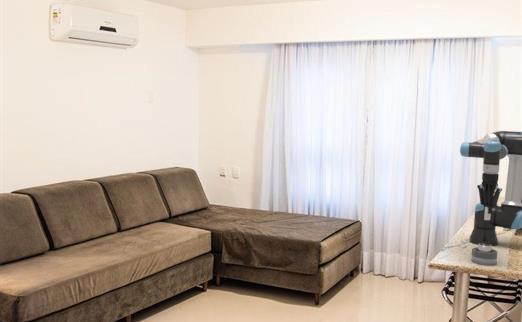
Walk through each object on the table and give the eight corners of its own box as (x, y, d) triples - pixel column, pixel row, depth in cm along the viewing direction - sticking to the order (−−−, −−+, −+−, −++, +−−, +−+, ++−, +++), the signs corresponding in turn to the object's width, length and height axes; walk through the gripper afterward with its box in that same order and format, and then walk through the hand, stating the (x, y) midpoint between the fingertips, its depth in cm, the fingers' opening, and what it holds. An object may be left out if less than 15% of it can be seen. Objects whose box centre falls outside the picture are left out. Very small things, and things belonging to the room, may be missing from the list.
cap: (483, 254, 296) (484, 241, 295) (493, 257, 291) (494, 244, 290) (475, 255, 293) (476, 242, 292) (485, 258, 288) (486, 245, 287)
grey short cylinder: (481, 257, 301) (482, 246, 300) (501, 263, 291) (502, 251, 290) (466, 260, 294) (466, 248, 294) (486, 266, 284) (487, 254, 284)
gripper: (474, 171, 291) (471, 217, 294) (497, 174, 280) (493, 223, 283) (484, 170, 295) (481, 216, 298) (507, 174, 284) (503, 221, 287)
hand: (487, 219), depth 290 cm, fingers closed
